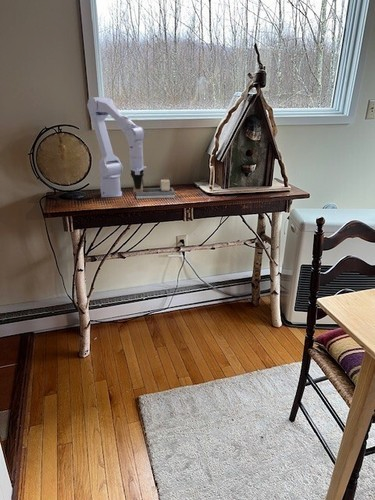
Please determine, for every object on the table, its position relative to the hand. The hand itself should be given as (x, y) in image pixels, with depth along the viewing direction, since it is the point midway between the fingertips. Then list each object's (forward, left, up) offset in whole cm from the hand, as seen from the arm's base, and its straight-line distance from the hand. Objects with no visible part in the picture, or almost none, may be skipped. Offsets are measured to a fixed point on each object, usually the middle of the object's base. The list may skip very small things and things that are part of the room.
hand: (137, 187), depth 161 cm
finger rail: (+8, +10, -7) cm, 14 cm away
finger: (0, 0, -2) cm, 2 cm away
